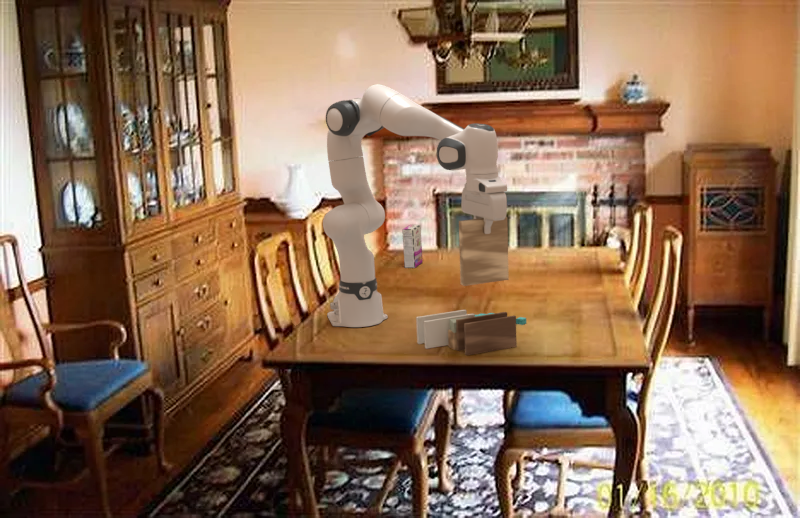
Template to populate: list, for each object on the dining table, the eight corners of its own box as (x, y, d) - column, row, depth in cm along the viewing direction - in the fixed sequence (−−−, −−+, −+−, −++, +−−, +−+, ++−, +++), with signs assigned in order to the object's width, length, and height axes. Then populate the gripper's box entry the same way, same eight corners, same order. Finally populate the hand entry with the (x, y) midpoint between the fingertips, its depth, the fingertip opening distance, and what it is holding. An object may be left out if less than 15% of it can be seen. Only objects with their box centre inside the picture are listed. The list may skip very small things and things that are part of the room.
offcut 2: (448, 346, 266) (447, 330, 265) (467, 343, 268) (466, 327, 267) (454, 350, 263) (454, 333, 262) (473, 346, 265) (472, 330, 264)
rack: (457, 350, 262) (456, 319, 260) (506, 341, 268) (505, 311, 266) (466, 355, 257) (465, 324, 255) (516, 346, 263) (515, 316, 261)
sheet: (460, 284, 257) (458, 220, 254) (504, 278, 263) (503, 216, 259) (464, 286, 255) (462, 222, 252) (508, 279, 260) (507, 217, 257)
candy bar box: (411, 262, 389) (409, 224, 385) (422, 262, 387) (421, 224, 384) (403, 268, 378) (401, 228, 375) (415, 268, 377) (413, 228, 373)
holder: (417, 343, 271) (416, 317, 269) (465, 335, 277) (464, 309, 275) (426, 348, 265) (425, 321, 263) (475, 340, 271) (474, 314, 269)
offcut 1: (449, 329, 266) (449, 319, 265) (466, 327, 267) (466, 317, 266) (453, 332, 262) (453, 322, 261) (470, 330, 263) (470, 320, 263)
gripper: (455, 180, 261) (456, 228, 264) (489, 187, 243) (490, 239, 246) (475, 178, 264) (476, 226, 267) (510, 185, 245) (511, 236, 248)
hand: (483, 232), depth 256 cm, fingers closed on sheet, 2 cm apart
